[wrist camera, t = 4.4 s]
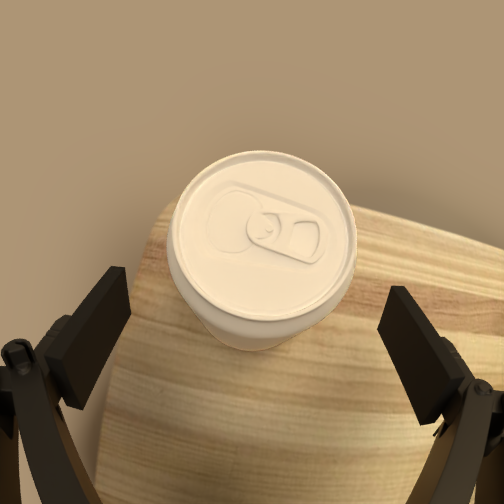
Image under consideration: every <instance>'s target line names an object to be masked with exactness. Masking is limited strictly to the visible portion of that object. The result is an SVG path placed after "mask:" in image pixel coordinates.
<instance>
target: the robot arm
mask: <svg viewBox="0 0 504 504" xmlns="http://www.w3.org/2000/svg"><path fill="white" fill-rule="evenodd" d="M130 315H131V309H130V303H129V296H128V288H127V282H126V272H125V267H116V266H111V267H110V268H109V269H108V270H107V272H106V273H105V274H104V275H103V277H102V278H101V279H100V280H99V281H98V283H97V284H96V285H95V286H94V288H93V289H92V290H91V291H90V293H89V294H88V295H87V297H86V298H85V299H84V300H83V301H82V303H81V304H80V305H79V307H78V308H77V309H76V311H75V312H74V313H73V315H72V316H70V315H64V316H62V317H61V318H59V319H58V320H56V321H55V323H54V324H53V325H52V327H51V328H50V330H48V332H47V333H46V336H44V337H43V338H42V340H41V341H40V342H39V344H38V345H37V346H36V348H35V349H34V350H33V348H32V346H31V344H30V342H29V341H27V340H25V339H14V340H12V341H10V342H8V343H7V344H6V345H4V347H3V349H2V350H1V356H2V358H3V361H4V362H5V364H6V366H0V504H22V503H21V493H20V479H19V457H18V456H19V454H18V453H19V452H18V439H19V438H18V437H19V431H20V435H21V439H22V443H23V447H24V451H25V454H26V458H27V461H28V465H29V468H30V471H31V474H32V477H33V480H34V483H35V486H36V489H37V491H38V494H39V497H40V500H41V502H42V504H103V503H102V502H101V500H100V498H99V496H98V494H97V492H96V490H95V488H94V487H93V484H92V482H91V481H90V479H89V477H88V474H87V473H86V470H85V468H84V466H83V464H82V461H81V459H80V457H79V455H78V452H77V450H76V447H75V445H74V443H73V440H72V438H71V435H70V433H69V430H68V427H67V425H66V422H65V419H64V417H63V414H62V411H61V408H60V406H59V404H58V403H59V401H60V399H61V397H62V398H63V400H64V402H65V404H66V405H67V406H69V407H72V408H76V409H79V410H83V409H84V407H85V405H86V402H87V400H88V398H89V396H90V394H91V391H92V390H93V388H94V385H95V383H96V381H97V379H98V377H99V375H100V373H101V371H102V369H103V367H104V365H105V363H106V361H107V359H108V357H109V355H110V353H111V351H112V349H113V347H114V346H115V344H116V342H117V340H118V338H119V336H120V334H121V332H122V330H123V328H124V326H125V325H126V323H127V321H128V319H129V317H130ZM377 330H378V332H379V334H380V336H381V338H382V340H383V343H384V345H385V347H386V349H387V351H388V353H389V355H390V357H391V360H392V362H393V364H394V366H395V368H396V371H397V373H398V375H399V377H400V379H401V382H402V384H403V386H404V388H405V391H406V393H407V395H408V398H409V400H410V402H411V405H412V407H413V409H414V412H415V414H416V417H417V419H418V422H419V424H420V426H421V425H426V424H431V423H435V422H436V420H437V419H438V418H439V416H440V415H441V413H442V415H443V418H444V421H443V422H442V424H441V425H440V426H439V428H438V429H437V430H436V431H435V433H434V434H433V436H434V437H435V435H436V434H437V433H438V434H437V436H436V439H435V441H434V444H433V446H432V449H431V451H430V454H429V456H428V458H427V461H426V463H425V465H424V467H423V470H422V472H421V474H420V476H419V478H418V480H417V482H416V484H415V486H414V488H413V490H412V492H411V494H410V496H409V498H408V500H407V502H406V504H469V502H470V499H471V496H472V493H473V490H474V487H475V484H476V492H475V503H474V504H504V391H496V390H493V388H492V386H491V385H490V384H489V383H488V382H486V381H484V380H482V379H475V377H474V376H473V374H472V373H471V371H470V370H469V368H468V366H467V365H466V363H465V362H464V360H463V359H461V356H460V354H459V353H457V350H456V348H455V347H454V345H453V344H452V343H451V342H450V341H449V340H447V339H446V338H445V337H440V336H439V334H438V333H437V331H436V330H435V328H434V327H433V326H432V324H431V323H430V321H429V320H428V318H427V317H426V316H425V314H424V313H423V311H422V310H421V308H420V307H419V306H418V304H417V303H416V302H415V300H414V299H413V297H412V296H411V295H410V293H409V292H408V291H407V289H406V288H405V287H404V286H391V289H390V292H389V295H388V298H387V302H386V305H385V308H384V311H383V314H382V317H381V320H380V323H379V326H378V328H377Z"/></svg>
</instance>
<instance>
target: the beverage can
mask: <svg viewBox="0 0 504 504" xmlns="http://www.w3.org/2000/svg"><path fill="white" fill-rule="evenodd" d="M167 259H168V265H169V269H170V273H171V276H172V278H173V281H174V283H175V285H176V287H177V289H178V291H179V292H180V294H181V296H182V297H183V298H184V300H185V301H186V303H187V304H188V305H189V307H190V308H191V309H192V311H193V312H194V313H195V314H196V316H197V317H198V318H199V320H200V321H201V322H202V323H203V325H204V326H205V327H206V329H207V330H208V331H209V332H210V333H211V334H212V335H213V336H214V337H215V338H216V339H218V340H219V341H221V342H222V343H224V344H226V345H228V346H230V347H233V348H236V349H239V350H245V351H260V350H265V349H269V348H272V347H275V346H277V345H279V344H281V343H283V342H285V341H287V340H289V339H290V338H292V337H294V336H296V335H298V334H300V333H301V332H303V331H305V330H307V329H309V328H310V327H312V326H314V325H316V324H317V323H319V322H320V321H321V320H323V319H324V318H325V317H326V316H328V315H329V314H330V313H331V312H332V311H333V310H334V309H335V308H336V306H337V305H338V304H339V303H340V301H341V300H342V298H343V297H344V295H345V293H346V292H347V290H348V288H349V286H350V283H351V281H352V278H353V275H354V271H355V266H356V259H357V230H356V224H355V219H354V216H353V213H352V210H351V207H350V205H349V203H348V201H347V199H346V198H345V196H344V194H343V193H342V191H341V190H340V188H339V187H338V186H337V185H336V184H335V183H334V181H333V180H332V179H330V177H328V176H327V175H326V174H325V173H324V172H322V171H321V170H320V169H318V168H317V167H315V166H314V165H312V164H310V163H308V162H307V161H305V160H303V159H300V158H298V157H295V156H292V155H289V154H285V153H281V152H275V151H248V152H242V153H237V154H233V155H231V156H227V157H225V158H222V159H220V160H218V161H216V162H214V163H213V164H211V165H210V166H208V167H206V168H205V169H204V170H202V171H201V172H200V173H199V174H198V175H197V176H196V177H195V178H194V179H193V180H192V181H191V182H190V183H189V185H188V186H187V187H186V189H185V190H184V192H183V193H182V195H181V197H180V199H179V201H178V204H177V206H176V209H175V211H174V213H173V215H172V218H171V221H170V224H169V229H168V234H167Z"/></svg>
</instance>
